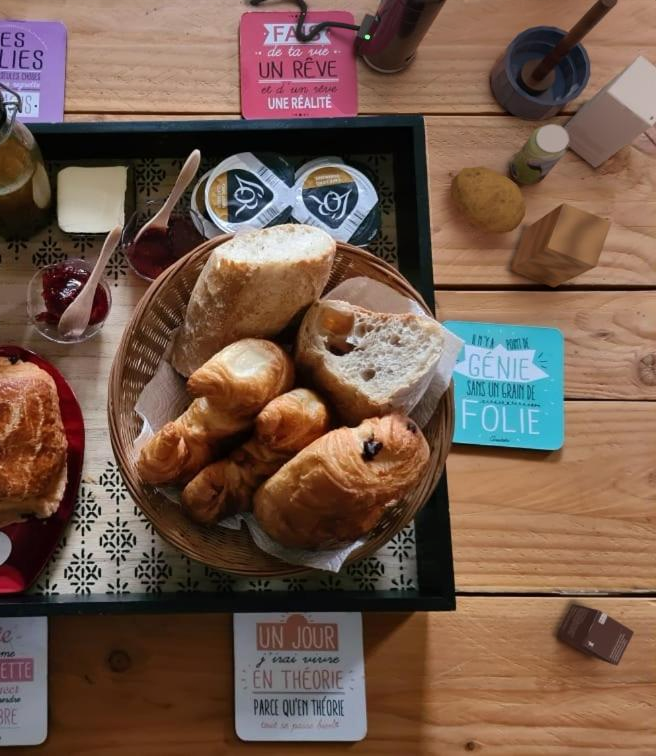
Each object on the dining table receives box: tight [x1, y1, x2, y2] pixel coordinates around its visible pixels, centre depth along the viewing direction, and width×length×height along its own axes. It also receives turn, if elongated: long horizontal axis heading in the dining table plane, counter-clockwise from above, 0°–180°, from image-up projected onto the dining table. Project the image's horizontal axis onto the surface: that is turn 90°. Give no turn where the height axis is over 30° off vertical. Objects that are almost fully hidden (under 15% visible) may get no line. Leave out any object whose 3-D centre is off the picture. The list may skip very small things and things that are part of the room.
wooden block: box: [509, 202, 612, 288], centre depth 120 cm, size 8×8×12 cm
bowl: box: [490, 25, 591, 121], centre depth 128 cm, size 15×15×6 cm
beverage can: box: [510, 123, 570, 186], centre depth 123 cm, size 6×7×12 cm
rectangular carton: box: [563, 54, 656, 168], centre depth 122 cm, size 9×9×15 cm
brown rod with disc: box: [516, 0, 618, 96], centre depth 119 cm, size 6×6×22 cm
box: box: [556, 603, 635, 666], centre depth 114 cm, size 6×6×7 cm
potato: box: [450, 165, 527, 235], centre depth 123 cm, size 10×13×9 cm
